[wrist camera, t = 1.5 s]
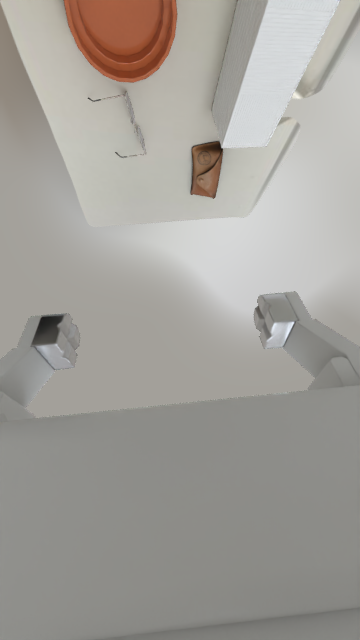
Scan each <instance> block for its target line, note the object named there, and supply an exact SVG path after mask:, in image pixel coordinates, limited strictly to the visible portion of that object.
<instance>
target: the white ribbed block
mask: <svg viewBox="0 0 360 640" xmlns="http://www.w3.org/2000/svg"><path fill="white" fill-rule="evenodd" d="M339 2H340V0H238V1H237V5H236V10H235V14H234V18H233V22H232V26H231V31H230V35H229V39H228V43H227V47H226V52H225V56H224V60H223V64H222V69H221V73H220V77H219V81H218V85H217V90H216V94H215V98H214V102H213V106H212V113H213V116H214V117H213V118H214V121H215V125H216V129H217V133H218V137H219V141H220V144H221V148H248V147H267V145H268V143H269V141H270V139H271V137H272V135H273V133H274V131H275V129H276V127H277V125H278V123H279V121H280V119H281V117H282V115H283V113H284V111H285V109H286V107H287V105H288V103H289V101H290V99H291V97H292V95H293V93H294V91H295V89H296V87H297V85H298V83H299V81H300V79H301V77H302V75H303V73H304V72H305V70H306V68H307V66H308V64H309V62H310V60H311V58H312V56H313V54H314V52H315V50H316V48H317V46H318V44H319V42H320V40H321V38H322V36H323V34H324V32H325V30H326V28H327V26H328V24H329V22H330V20H331V18H332V16H333V14H334V12H335V10H336V8H337V6H338V4H339Z"/></svg>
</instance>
